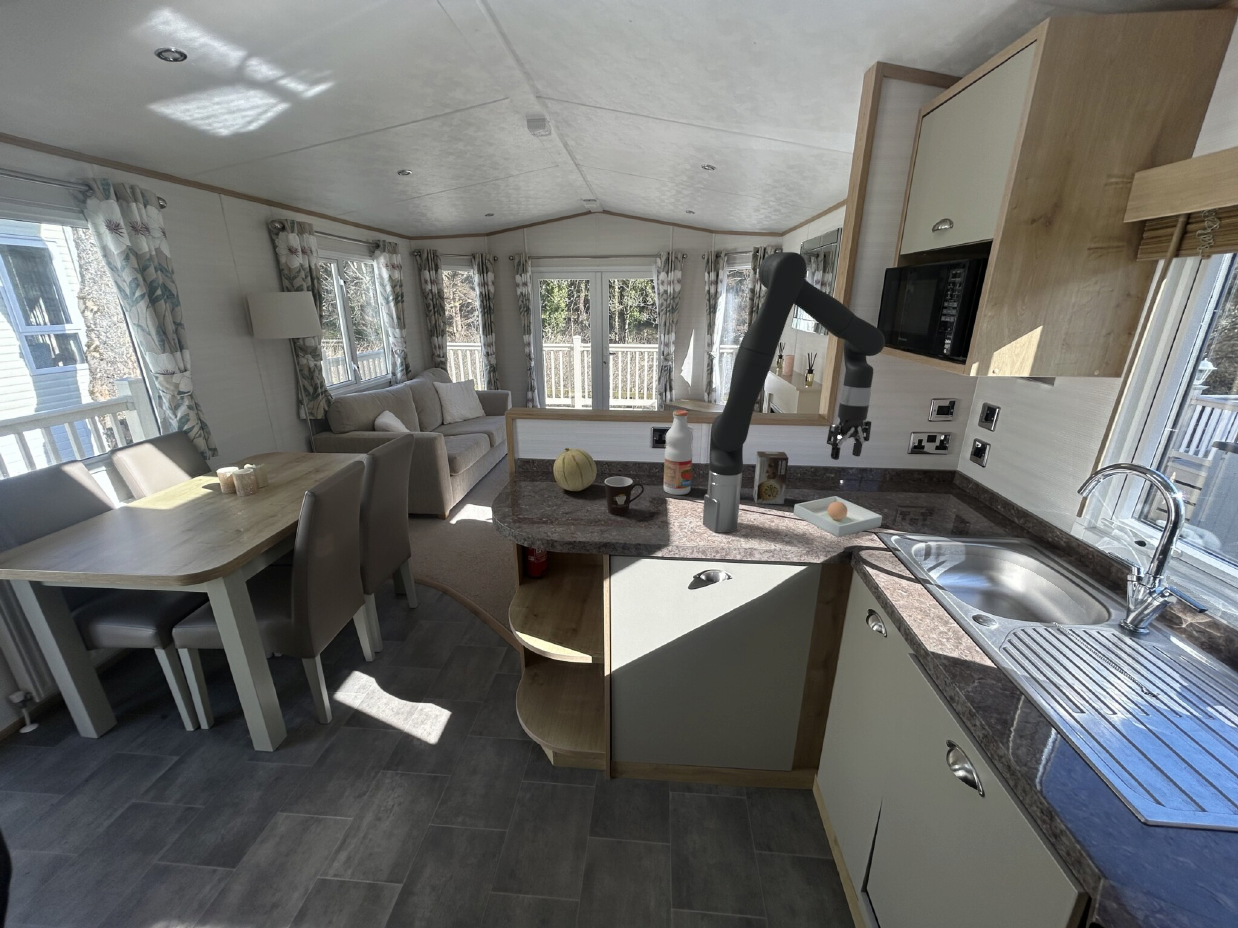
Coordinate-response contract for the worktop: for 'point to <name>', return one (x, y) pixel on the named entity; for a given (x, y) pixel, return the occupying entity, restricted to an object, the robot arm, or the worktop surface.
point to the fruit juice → (678, 456)
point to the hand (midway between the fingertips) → (845, 457)
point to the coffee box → (770, 477)
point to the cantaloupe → (574, 469)
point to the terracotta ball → (837, 510)
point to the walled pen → (851, 524)
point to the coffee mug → (619, 494)
